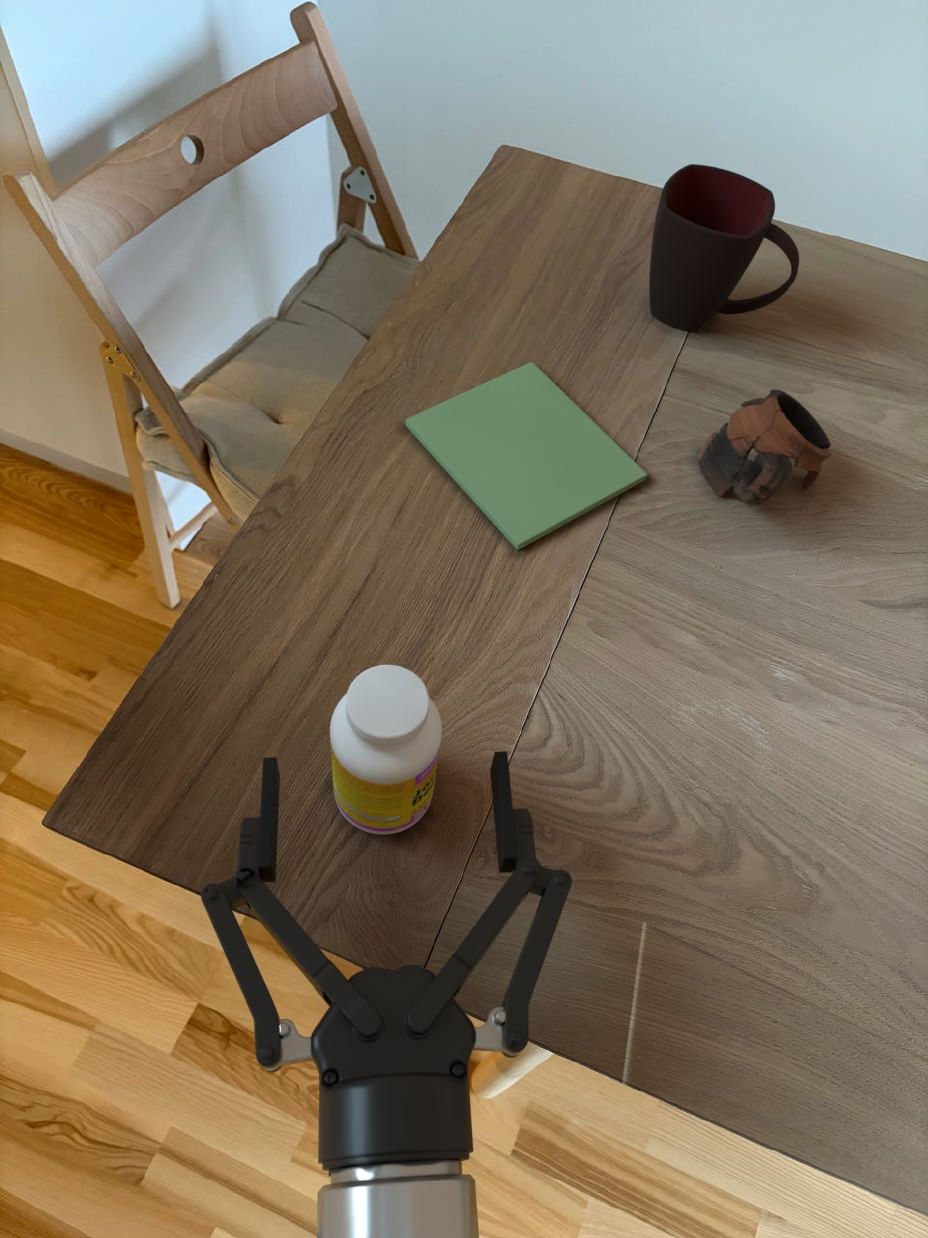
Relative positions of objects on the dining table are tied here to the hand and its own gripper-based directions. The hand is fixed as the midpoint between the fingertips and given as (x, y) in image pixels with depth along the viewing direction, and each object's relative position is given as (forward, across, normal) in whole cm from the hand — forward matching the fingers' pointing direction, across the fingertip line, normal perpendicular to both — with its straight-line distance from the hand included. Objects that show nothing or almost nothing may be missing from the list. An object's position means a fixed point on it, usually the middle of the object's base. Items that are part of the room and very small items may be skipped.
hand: (386, 763), depth 57 cm
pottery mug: (+29, +32, -7) cm, 44 cm away
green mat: (+32, +13, -7) cm, 35 cm away
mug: (+50, +32, -7) cm, 60 cm away
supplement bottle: (+1, 0, -7) cm, 7 cm away
